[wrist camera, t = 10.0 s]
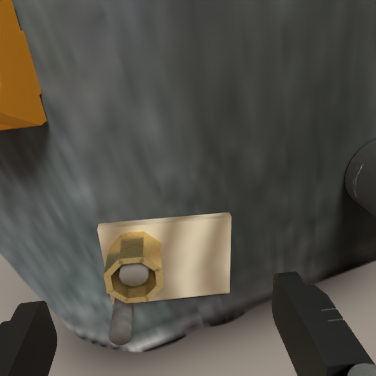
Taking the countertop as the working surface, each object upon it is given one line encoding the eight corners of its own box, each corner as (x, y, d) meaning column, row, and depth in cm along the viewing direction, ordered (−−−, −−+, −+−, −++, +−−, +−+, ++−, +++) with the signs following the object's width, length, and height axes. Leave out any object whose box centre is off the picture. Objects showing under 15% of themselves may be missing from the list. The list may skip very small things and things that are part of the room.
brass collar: (159, 229, 38) (160, 255, 34) (162, 270, 41) (164, 299, 36) (106, 234, 38) (100, 260, 33) (114, 275, 40) (109, 305, 36)
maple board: (229, 212, 39) (247, 251, 32) (227, 286, 45) (242, 335, 37) (98, 223, 38) (86, 267, 31) (112, 298, 43) (104, 351, 36)
